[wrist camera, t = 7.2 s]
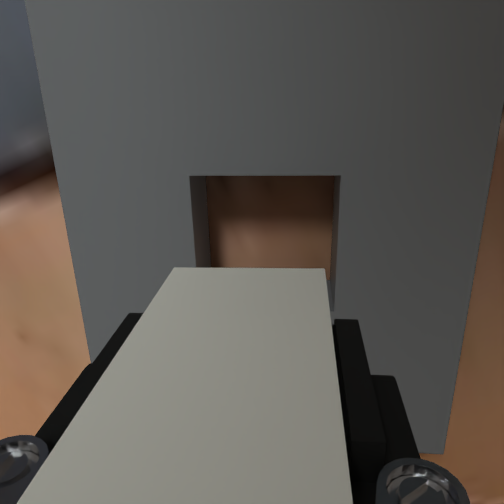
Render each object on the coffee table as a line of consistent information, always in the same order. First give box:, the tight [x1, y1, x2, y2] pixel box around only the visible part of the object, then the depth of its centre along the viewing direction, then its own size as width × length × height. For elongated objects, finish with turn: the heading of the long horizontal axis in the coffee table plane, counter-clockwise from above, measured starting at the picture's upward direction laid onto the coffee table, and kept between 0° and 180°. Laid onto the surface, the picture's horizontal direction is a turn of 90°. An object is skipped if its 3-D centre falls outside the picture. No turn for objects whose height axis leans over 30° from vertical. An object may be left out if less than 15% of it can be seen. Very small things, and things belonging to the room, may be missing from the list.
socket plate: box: [25, 0, 504, 454], centre depth 19 cm, size 20×16×3 cm
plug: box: [17, 267, 353, 504], centre depth 9 cm, size 4×4×8 cm
